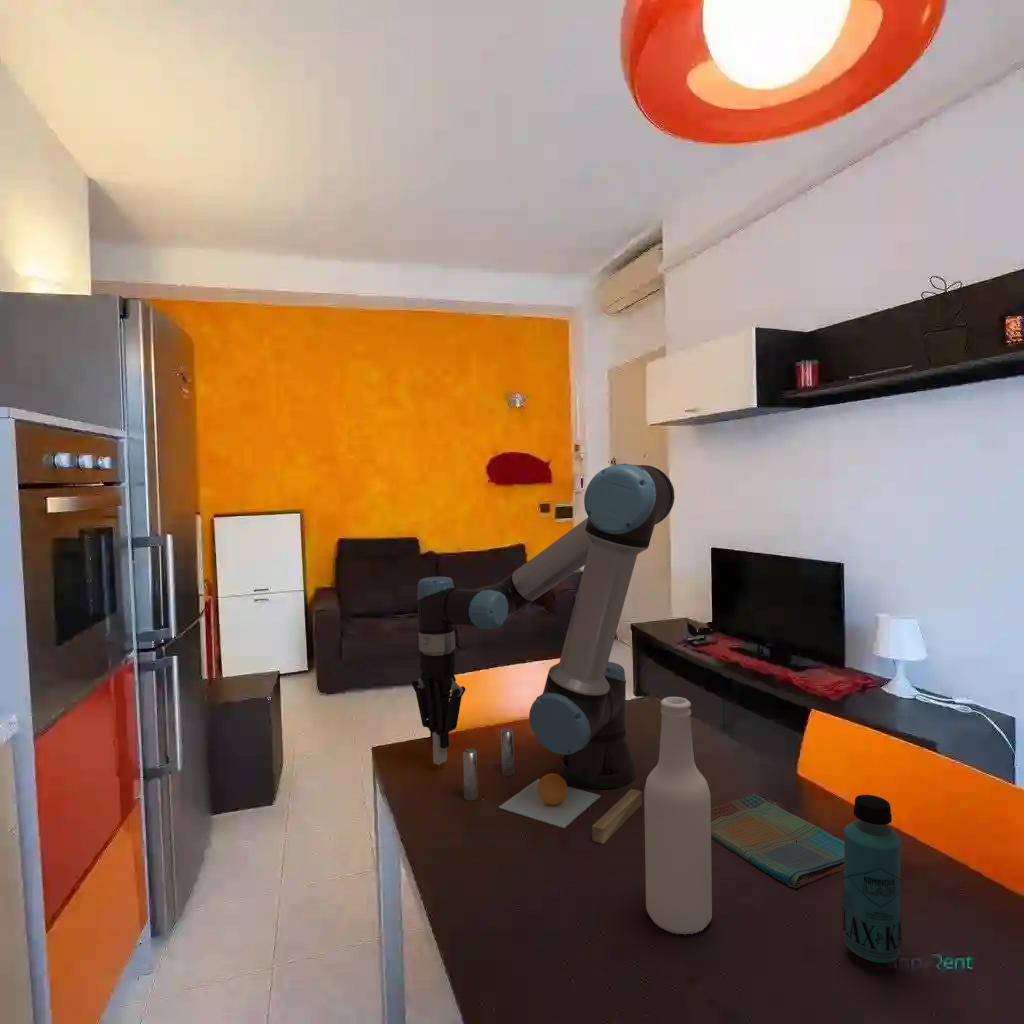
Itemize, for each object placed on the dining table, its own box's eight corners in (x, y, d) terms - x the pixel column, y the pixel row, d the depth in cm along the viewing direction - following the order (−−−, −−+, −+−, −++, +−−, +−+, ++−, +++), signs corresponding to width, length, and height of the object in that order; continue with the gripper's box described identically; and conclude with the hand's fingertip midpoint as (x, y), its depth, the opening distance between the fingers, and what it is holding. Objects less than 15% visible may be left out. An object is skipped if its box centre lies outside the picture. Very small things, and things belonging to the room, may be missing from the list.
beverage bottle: (831, 941, 86) (830, 789, 85) (880, 937, 86) (880, 786, 85) (862, 979, 79) (862, 814, 78) (915, 974, 80) (915, 810, 79)
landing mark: (600, 796, 127) (600, 795, 127) (564, 828, 115) (564, 827, 115) (538, 779, 135) (538, 778, 135) (498, 808, 123) (498, 807, 123)
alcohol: (725, 920, 90) (723, 702, 89) (681, 946, 85) (678, 716, 84) (676, 888, 97) (673, 686, 96) (632, 911, 93) (629, 699, 91)
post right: (516, 772, 138) (515, 729, 138) (509, 776, 136) (508, 733, 136) (506, 769, 140) (505, 727, 140) (499, 774, 138) (498, 731, 137)
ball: (564, 765, 126) (543, 773, 129) (549, 775, 121) (527, 784, 124) (577, 793, 125) (555, 801, 127) (562, 805, 120) (540, 813, 123)
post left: (480, 796, 128) (479, 750, 128) (472, 801, 126) (470, 755, 126) (469, 793, 130) (468, 747, 129) (461, 798, 127) (460, 752, 127)
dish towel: (794, 897, 96) (794, 879, 96) (683, 825, 117) (682, 811, 117) (870, 863, 104) (870, 847, 104) (753, 801, 125) (753, 788, 125)
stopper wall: (641, 804, 123) (641, 791, 123) (603, 844, 110) (602, 829, 110) (631, 801, 124) (631, 788, 124) (592, 840, 111) (592, 826, 111)
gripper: (401, 651, 140) (405, 761, 141) (449, 659, 133) (452, 775, 133) (425, 643, 146) (428, 749, 147) (472, 650, 139) (475, 761, 140)
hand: (440, 761), depth 140 cm, fingers closed
